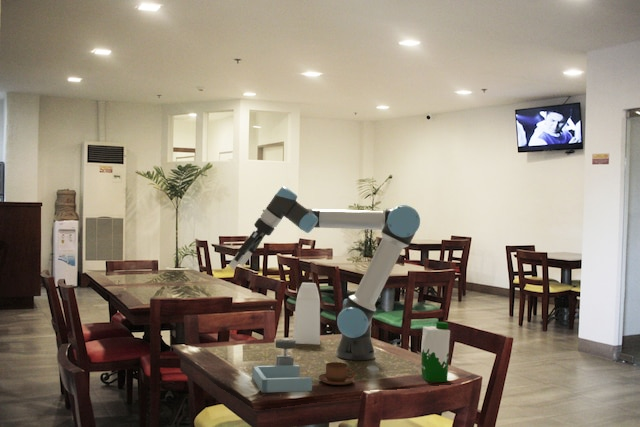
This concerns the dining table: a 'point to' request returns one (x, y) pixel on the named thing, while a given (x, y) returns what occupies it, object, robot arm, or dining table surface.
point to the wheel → (285, 344)
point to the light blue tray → (281, 376)
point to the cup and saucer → (337, 374)
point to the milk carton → (435, 352)
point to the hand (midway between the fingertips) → (235, 265)
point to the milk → (307, 315)
